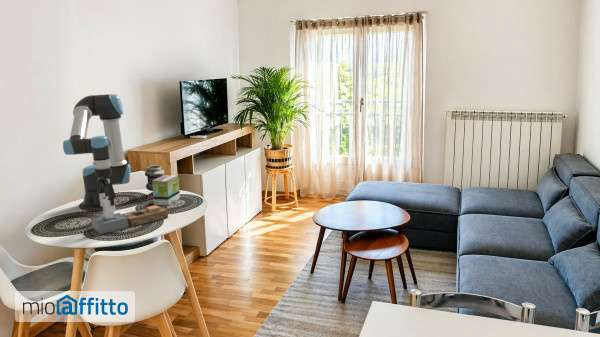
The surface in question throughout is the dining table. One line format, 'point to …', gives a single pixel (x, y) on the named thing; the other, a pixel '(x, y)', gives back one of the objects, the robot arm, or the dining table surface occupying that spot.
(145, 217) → the socket block
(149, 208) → the plunger
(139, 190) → the dining table surface
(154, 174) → the apothecary jar
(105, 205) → the steel peg
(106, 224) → the block
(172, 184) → the tea box
